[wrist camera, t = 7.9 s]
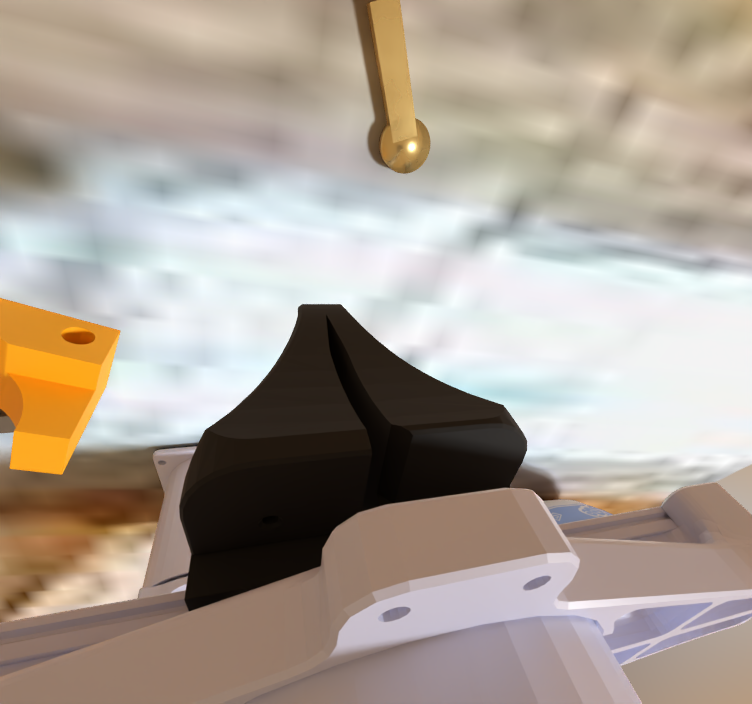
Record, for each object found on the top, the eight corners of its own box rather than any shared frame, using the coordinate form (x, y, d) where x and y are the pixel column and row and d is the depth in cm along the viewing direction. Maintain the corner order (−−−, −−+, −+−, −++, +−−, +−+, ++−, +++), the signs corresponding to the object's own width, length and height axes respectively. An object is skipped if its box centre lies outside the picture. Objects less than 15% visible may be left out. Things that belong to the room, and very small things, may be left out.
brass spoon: (427, 162, 19) (433, 165, 19) (383, 175, 19) (387, 179, 19) (407, -8, 15) (413, -10, 15) (351, 8, 15) (355, 6, 15)
